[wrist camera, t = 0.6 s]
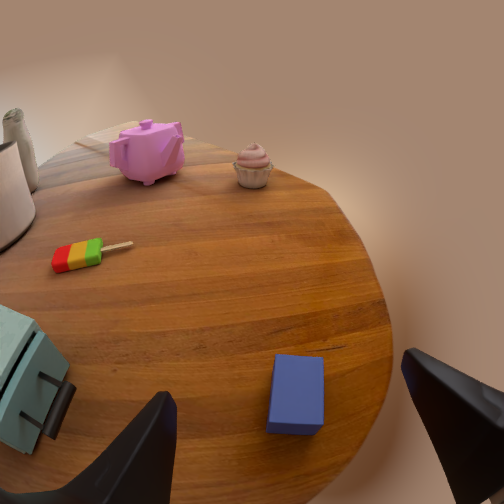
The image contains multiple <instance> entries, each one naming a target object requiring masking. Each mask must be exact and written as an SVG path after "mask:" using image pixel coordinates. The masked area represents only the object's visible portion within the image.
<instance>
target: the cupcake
mask: <svg viewBox="0 0 504 504" xmlns="http://www.w3.org/2000/svg"><path fill="white" fill-rule="evenodd" d="M232 164H233V166H234V169H235V171H236V173H237V177H238V181H239V184H240V185H241V186H243V187H246V188H260V187H263V186H265V185H266V183H267V180H268V177H269V174H270V172H271V170H272V169H273V167H274V165H272V162H270V158H269V156H268V155H267V154H266V151H265V150H264V148H262V147H261V146H260V145H259V144H256V143H253V144H250V145H249V146H248V147H247V148H246V149H245V150H243V151H241V152H239V154H238V159H237V161H236V162H234V163H232Z"/></svg>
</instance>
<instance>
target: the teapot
mask: <svg viewBox="0 0 504 504" xmlns="http://www.w3.org/2000/svg"><path fill="white" fill-rule="evenodd" d="M152 122H153V120H143V121H140V122H139V125H140V126H138V127H135V128H131V129H128V130H124V131H121V132H120V135H119V139H118V140H115V141H112V142H109V146H110V166H112V167H116V168H119V169H120V171H121V172H122V174H123V175H125V176H126V177H128V178H129V180H138V181H143V184H144V185H151V184H153V183H155V180H156V179H159V178H161V177H164V176H166V175H174V174H176V171H177V170H179V169H181V168H182V166H183V163H184V159H185V158H184V151H183V146H182V143H183V142H184V138H183V133H182V127H181V123H180V122H173V123H170V124H156V123H152Z"/></svg>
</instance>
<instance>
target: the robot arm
mask: <svg viewBox="0 0 504 504" xmlns="http://www.w3.org/2000/svg"><path fill="white" fill-rule="evenodd" d="M401 370H402V373H403V376H404V378H405V381H406V384H407V387H408V389H409V392H410V395H411V398H412V400H413V403H414V405H415V407H416V409H417V411H418V413H419V415H420V417H421V419H422V422H423V424H424V426H425V428H426V430H427V432H428V435H429V437H430V439H431V441H432V444H433V446H434V448H435V451H436V453H437V455H438V458H439V460H440V462H441V465H442V467H443V470H444V472H445V475H446V477H447V480H448V483H449V485H450V488H451V491H452V493H453V496H454V499H455V501H456V504H481V503H482V502H484V501H485V500H487V499H488V498H489V499H490V501H491V503H492V504H504V392H501V391H499V390H497V389H494V388H492V387H490V386H488V385H486V384H484V383H482V382H480V381H478V380H476V379H474V378H472V377H470V376H468V375H466V374H465V373H463V372H460V371H459V370H457V369H455V368H453V367H451V366H449V365H447V364H445V363H443V362H441V361H439V360H437V359H436V358H434V357H432V356H430V355H428V354H426V353H424V352H422V351H420V350H418V349H416V348H410V349H407V350H405V352H404V355H403V359H402V363H401ZM176 439H177V406H176V404H175V402H174V400H173V398H172V396H171V394H170V393H169V392H168V391H160V392H157V393H156V394H155V396H154V397H153V398H152V399H151V400H150V401H149V402H148V403H147V404H146V406H145V407H144V408H143V409H142V410H141V411H140V412H139V413H138V414H137V416H136V417H135V418H134V419H133V420H132V421H131V422H130V423H129V424H128V425H127V427H126V428H125V429H124V430H123V431H122V432H121V433H120V434H119V435H118V436H117V437H116V439H115V440H114V441H113V442H112V443H111V444H110V445H109V446H108V447H107V448H106V450H104V451H103V452H102V454H101V455H100V456H99V457H98V458H97V459H96V460H95V461H94V462H93V463H92V464H90V465H89V466H88V467H87V468H86V469H85V470H84V471H82V472H81V473H80V474H79V475H78V476H76V477H75V478H74V479H73V480H72V481H70V482H69V483H68V484H67V485H65V486H64V487H62V488H60V489H57V490H53V491H45V492H35V493H22V494H14V493H9V492H6V491H5V490H3V489H2V488H0V504H169V503H170V493H171V484H172V475H173V466H174V458H175V450H176Z"/></svg>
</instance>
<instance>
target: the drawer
mask: <svg viewBox="0 0 504 504" xmlns="http://www.w3.org/2000/svg"><path fill="white" fill-rule="evenodd" d="M69 366H70V364H69V363H68V362H67V361H66V359H65V358H64V357H63V356H62V354H61V353H60V352H59V351H58V349H57V348H56V347H55V346H54V344H53V343H52V342H51V340H50V339H49V338H48V336H47V335H46V334H45V333H43V332H40V331H38V333H37V334H36V336H35V337H34V339H33V340H32V338H31V337H30V338H29V339H28V341H27V343H26V344H25V346H24V348H23V350H22V351H21V353H20V355H19V357H18V358H17V360H16V362H15V364H14V366H13V367H12V369H11V371H10V373H9V375H8V377H7V379H6V381H5V383H4V385H3V387H2V389H1V391H0V438H1V439H3V440H5V441H6V442H8V443H10V444H12V445H13V446H15V447H17V448H19V449H21V450H23V451H25V452H26V453H28V454H30V455H31V454H32V451H33V449H34V446H35V443H36V441H37V438H38V435H39V433H40V430H42V433H44V434H45V435H47V436H48V437H50V438H52V439H53V440H56V437H57V435H58V432H59V430H60V427H61V425H62V422H63V420H64V417H65V415H66V412H67V410H68V408H69V405H70V403H71V401H72V398H73V396H74V394H75V391H76V389H77V388H76V387H75V386H74V385H73V384H71V383H70V382H68V381H64V382H62V380H63V378H64V376H65V374H66V372H67V370H68V368H69ZM58 388H60V391H59V393H58V395H57V397H56V399H55V402H54V404H53V406H52V408H51V411H50V413H49V415H48V418H47V420H46V423H45V425H43V423H44V420H45V418H46V415H47V413H48V411H49V408H50V406H51V404H52V402H53V399H54V397H55V395H56V393H57V391H58Z"/></svg>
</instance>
